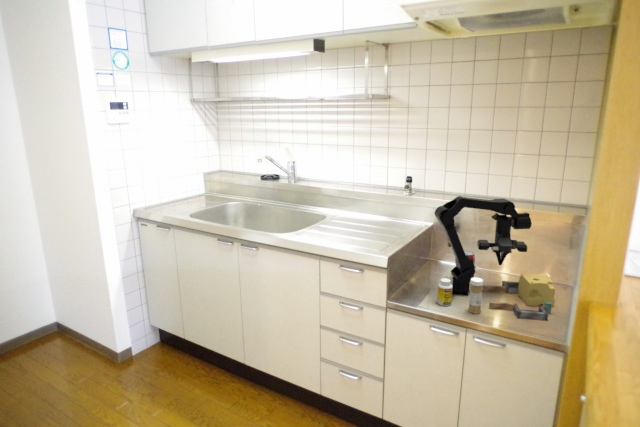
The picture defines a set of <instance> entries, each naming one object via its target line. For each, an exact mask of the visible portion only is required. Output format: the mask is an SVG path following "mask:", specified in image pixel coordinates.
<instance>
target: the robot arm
mask: <svg viewBox="0 0 640 427" xmlns="http://www.w3.org/2000/svg"><path fill="white" fill-rule="evenodd" d="M464 208H468V209H476V210H477V209H478V210H485V211H492V212H495V214H493V215H492V216H491V219H492V220H495V221H496V222H495V233H494V234H495V235H494V242H489V240H487V239H478V240H477V242H476V246H477V248H478V250H480V251H487V250H489V248H491V251H492V252H493V253H495V256H496V260H497V262H498V266H502V265H503V262H504V260H505V259H506V256H508V254H512V253H513V251H512V250H517V252H519V253H520V252H522V253H527V252H528V245H527V244H526V243H525V242H524V241H519V240H517V239H512V237H511V235H512V234H511V230H512V229H514V230H529V229H531V227H532V220H531V217H530V213H528V212H518V211H517V210H516V206H515V204H514V202H513V201H510V200H508V199H506V198H495V199H494V198H493V199H485V198H484V199H482V198H475V197H474V198H473V197H464V196H461V195H458V196H456V197H454V198H453V199H452V200H450V201H448V202H446V203H444V204H443V205H441V206H438V207H436V208H435V211H434V217H435V218H436V220H437V221H438V222H439V224H440V225H441V227H442V228H443V230H444V231H445V235H446V237H447V240H448V242H449V245H450V247H451V249H452V252H453V254H454V258H455V259H454V260H455V267H453V268H452V269H451V270H450V273H451V275H452V279H451V284H452V286H453V288H452V296H453V295H454V296H466V297H467V296H469V294H470V288H471V284H470V280H471V278H472V276H473V275H474V276H475V274H476V268H477V267H476V266H474V263H473V260H472V259H471V258H470V257H469V256H468V255H467V256H466V255H465V252H464V251H465V249H464V248H463V245H462V243H461V241H460V237H459V235H458V233H457V230H456V227H455V217H456V216H457V215H458V214H459V213H460V212H461V211H462V210H463V209H464ZM511 228H512V229H511Z"/></svg>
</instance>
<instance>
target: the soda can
mask: <svg viewBox="0 0 640 427" xmlns="http://www.w3.org/2000/svg"><path fill="white" fill-rule="evenodd" d="M464 252H465V255H466V256H467V255H468V256H469V257H470V258H471V259H472V260H473V263H474V266H475V265H476V256H475V252H474V251H471V250H465V249H464ZM475 267H476V266H475ZM474 277H475V274H474V275H473V276H472V278H474Z"/></svg>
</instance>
